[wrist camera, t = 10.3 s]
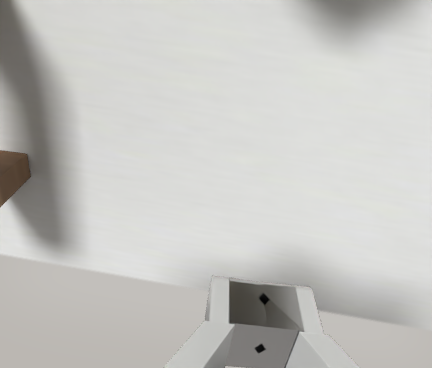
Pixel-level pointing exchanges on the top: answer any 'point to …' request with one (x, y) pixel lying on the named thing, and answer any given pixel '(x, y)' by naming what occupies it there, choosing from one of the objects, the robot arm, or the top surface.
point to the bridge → (12, 173)
